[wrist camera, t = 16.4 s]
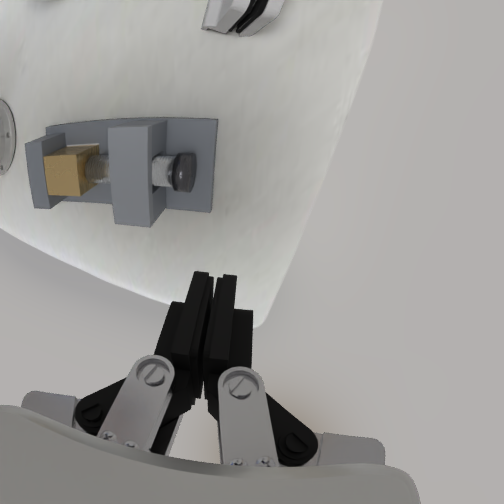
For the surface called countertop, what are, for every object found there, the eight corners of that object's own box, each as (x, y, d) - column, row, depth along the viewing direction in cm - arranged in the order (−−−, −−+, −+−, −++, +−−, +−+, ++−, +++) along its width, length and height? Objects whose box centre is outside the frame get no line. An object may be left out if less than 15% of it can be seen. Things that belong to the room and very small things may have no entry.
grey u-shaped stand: (57, 197, 30) (31, 217, 25) (50, 125, 25) (18, 137, 20) (212, 209, 31) (200, 234, 26) (218, 119, 25) (205, 125, 20)
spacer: (69, 181, 28) (48, 195, 24) (66, 146, 26) (43, 156, 22) (101, 181, 28) (80, 196, 24) (98, 144, 26) (76, 154, 22)
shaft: (102, 179, 28) (84, 191, 25) (99, 148, 26) (81, 157, 23) (195, 185, 28) (186, 198, 25) (197, 149, 26) (187, 158, 23)
